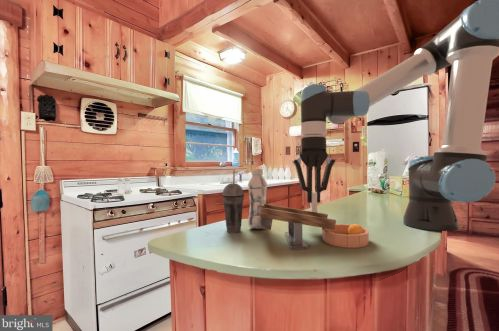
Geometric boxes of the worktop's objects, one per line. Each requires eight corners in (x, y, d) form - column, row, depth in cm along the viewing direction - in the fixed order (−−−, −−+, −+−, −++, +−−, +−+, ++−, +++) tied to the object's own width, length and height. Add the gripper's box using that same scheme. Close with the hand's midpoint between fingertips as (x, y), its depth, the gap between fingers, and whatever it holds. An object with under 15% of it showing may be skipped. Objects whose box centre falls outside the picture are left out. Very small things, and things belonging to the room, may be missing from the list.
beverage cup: (219, 232, 81) (217, 170, 80) (227, 227, 88) (226, 169, 87) (240, 234, 79) (239, 170, 78) (247, 228, 86) (246, 169, 85)
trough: (317, 226, 82) (320, 208, 82) (332, 240, 67) (336, 218, 67) (256, 216, 82) (259, 197, 82) (257, 228, 67) (261, 206, 67)
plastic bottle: (244, 228, 85) (243, 169, 85) (258, 225, 90) (257, 168, 89) (257, 232, 80) (256, 169, 80) (271, 228, 85) (271, 168, 85)
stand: (297, 234, 77) (297, 213, 77) (307, 249, 64) (306, 223, 64) (284, 234, 78) (284, 213, 77) (291, 249, 65) (291, 224, 64)
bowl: (357, 234, 77) (357, 223, 77) (377, 247, 65) (376, 235, 65) (317, 234, 77) (317, 224, 77) (330, 248, 65) (329, 235, 65)
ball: (359, 236, 73) (359, 222, 73) (365, 240, 69) (366, 226, 69) (345, 235, 73) (346, 222, 73) (350, 240, 69) (351, 225, 69)
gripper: (330, 137, 82) (330, 210, 82) (290, 138, 82) (290, 210, 82) (338, 135, 74) (338, 215, 75) (294, 135, 74) (294, 215, 75)
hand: (313, 213), depth 78 cm, fingers closed
